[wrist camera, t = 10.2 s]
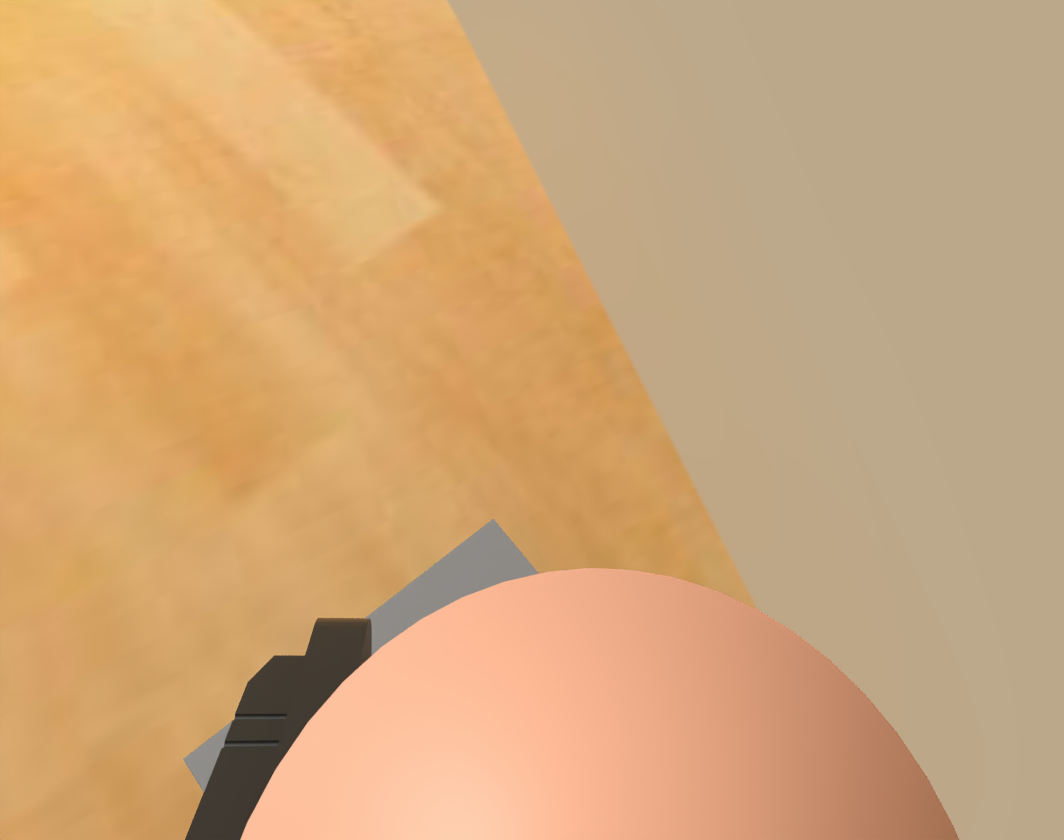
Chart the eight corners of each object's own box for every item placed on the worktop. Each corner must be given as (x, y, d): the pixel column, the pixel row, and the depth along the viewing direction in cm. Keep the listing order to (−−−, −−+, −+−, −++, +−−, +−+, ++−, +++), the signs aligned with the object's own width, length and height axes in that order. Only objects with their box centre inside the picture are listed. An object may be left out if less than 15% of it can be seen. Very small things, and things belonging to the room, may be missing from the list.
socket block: (427, 1063, 22) (426, 1148, 17) (229, 756, 24) (183, 759, 20) (677, 793, 25) (730, 805, 21) (483, 554, 28) (493, 519, 24)
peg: (465, 973, 13) (600, 2052, 2) (339, 788, 14) (20, 936, 3) (620, 811, 15) (1154, 1007, 4) (496, 653, 16) (634, 444, 5)
